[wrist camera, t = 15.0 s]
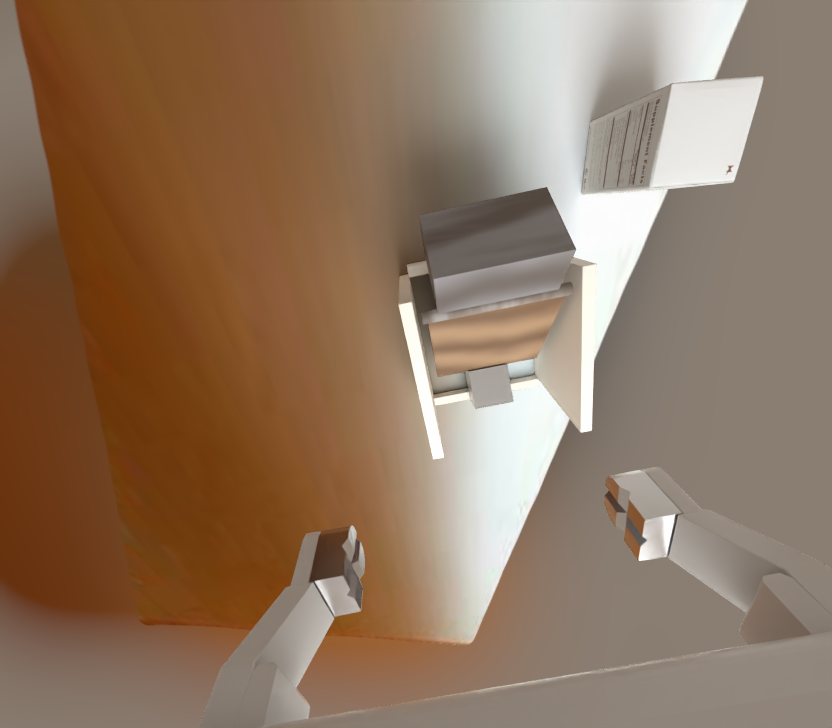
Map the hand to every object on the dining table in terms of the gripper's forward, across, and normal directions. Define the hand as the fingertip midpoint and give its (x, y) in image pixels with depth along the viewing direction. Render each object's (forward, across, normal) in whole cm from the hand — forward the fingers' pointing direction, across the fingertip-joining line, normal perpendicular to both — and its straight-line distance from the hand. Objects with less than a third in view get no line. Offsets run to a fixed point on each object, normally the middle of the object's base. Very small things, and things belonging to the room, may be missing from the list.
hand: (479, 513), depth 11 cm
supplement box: (+36, -25, -8) cm, 45 cm away
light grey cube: (+30, -7, +15) cm, 34 cm away
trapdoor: (+30, -7, +1) cm, 31 cm away
